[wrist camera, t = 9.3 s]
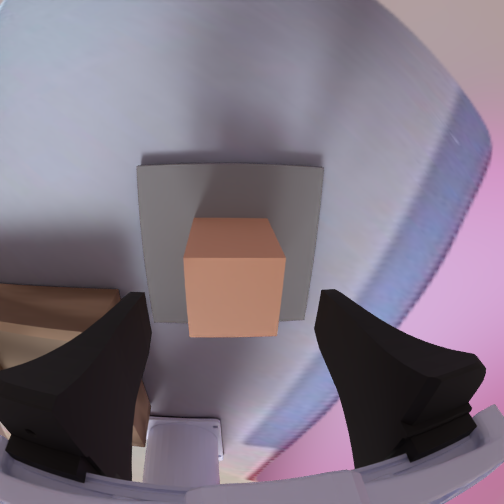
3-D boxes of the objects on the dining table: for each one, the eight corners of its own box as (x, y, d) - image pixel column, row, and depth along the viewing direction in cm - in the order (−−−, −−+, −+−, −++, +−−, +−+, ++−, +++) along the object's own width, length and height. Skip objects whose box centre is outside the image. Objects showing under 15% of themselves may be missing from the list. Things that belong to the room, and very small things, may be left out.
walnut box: (150, 406, 23) (145, 447, 19) (19, 383, 21) (4, 413, 17) (118, 289, 18) (96, 333, 13) (-30, 281, 16) (-58, 308, 12)
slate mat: (302, 316, 20) (304, 320, 19) (154, 318, 19) (153, 322, 18) (321, 167, 16) (323, 168, 15) (138, 165, 15) (136, 166, 14)
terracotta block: (262, 281, 18) (276, 335, 13) (196, 282, 17) (189, 337, 13) (267, 218, 16) (286, 258, 12) (193, 217, 16) (183, 257, 11)
